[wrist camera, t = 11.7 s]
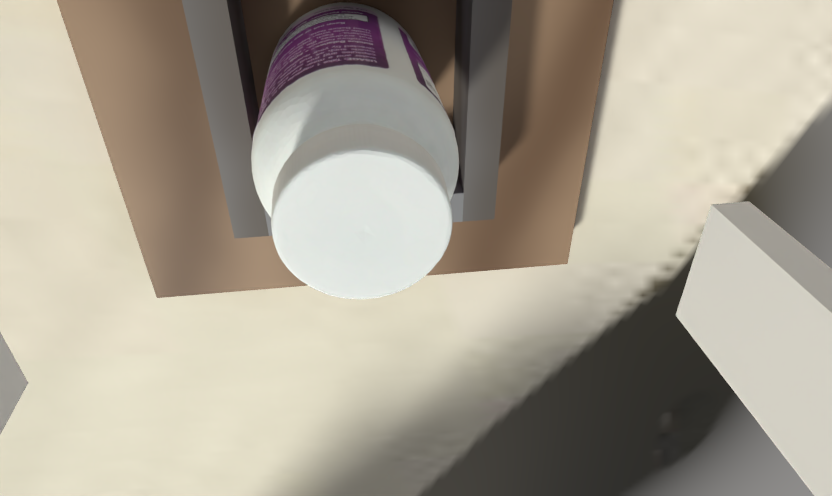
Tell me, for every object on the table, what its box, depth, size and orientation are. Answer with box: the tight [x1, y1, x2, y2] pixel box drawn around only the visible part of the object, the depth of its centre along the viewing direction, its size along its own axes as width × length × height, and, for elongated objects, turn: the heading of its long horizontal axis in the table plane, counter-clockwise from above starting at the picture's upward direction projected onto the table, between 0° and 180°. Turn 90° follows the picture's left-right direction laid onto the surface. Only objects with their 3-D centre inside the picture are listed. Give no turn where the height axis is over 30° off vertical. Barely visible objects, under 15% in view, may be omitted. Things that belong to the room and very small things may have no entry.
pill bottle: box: [251, 2, 459, 299], centre depth 17 cm, size 5×5×10 cm
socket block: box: [57, 0, 614, 298], centre depth 20 cm, size 18×18×4 cm
